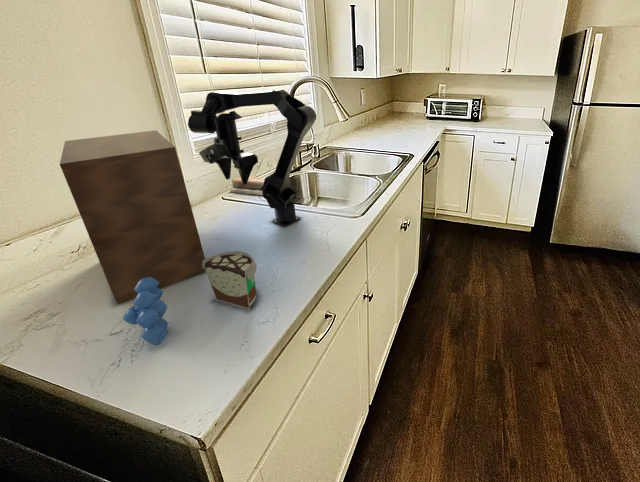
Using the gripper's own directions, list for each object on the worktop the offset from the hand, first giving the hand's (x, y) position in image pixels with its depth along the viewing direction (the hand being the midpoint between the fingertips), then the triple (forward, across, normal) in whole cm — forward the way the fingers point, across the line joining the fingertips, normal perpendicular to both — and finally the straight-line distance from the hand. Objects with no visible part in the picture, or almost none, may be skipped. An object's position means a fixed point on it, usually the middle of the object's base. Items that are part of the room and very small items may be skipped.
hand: (236, 181), depth 105 cm
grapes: (+13, +32, -40) cm, 53 cm away
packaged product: (+13, -19, +18) cm, 30 cm away
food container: (+13, +36, -24) cm, 45 cm away
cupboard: (+13, +5, -28) cm, 31 cm away
